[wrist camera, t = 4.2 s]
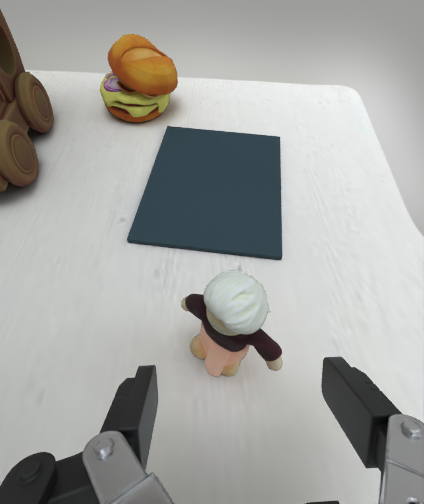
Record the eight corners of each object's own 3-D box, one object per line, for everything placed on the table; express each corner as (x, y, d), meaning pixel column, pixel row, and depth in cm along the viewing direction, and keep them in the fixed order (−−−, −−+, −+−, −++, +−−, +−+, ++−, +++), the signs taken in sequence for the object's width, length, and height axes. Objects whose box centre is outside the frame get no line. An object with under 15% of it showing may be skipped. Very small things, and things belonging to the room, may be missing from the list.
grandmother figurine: (170, 357, 23) (140, 295, 12) (190, 316, 25) (180, 231, 14) (259, 399, 21) (313, 369, 11) (272, 352, 23) (331, 287, 13)
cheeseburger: (116, 85, 46) (114, 12, 37) (178, 108, 47) (189, 42, 39) (91, 119, 40) (82, 42, 32) (162, 144, 41) (171, 76, 33)
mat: (128, 242, 29) (126, 239, 28) (167, 129, 40) (167, 126, 39) (280, 260, 28) (282, 257, 28) (279, 140, 39) (280, 136, 38)
